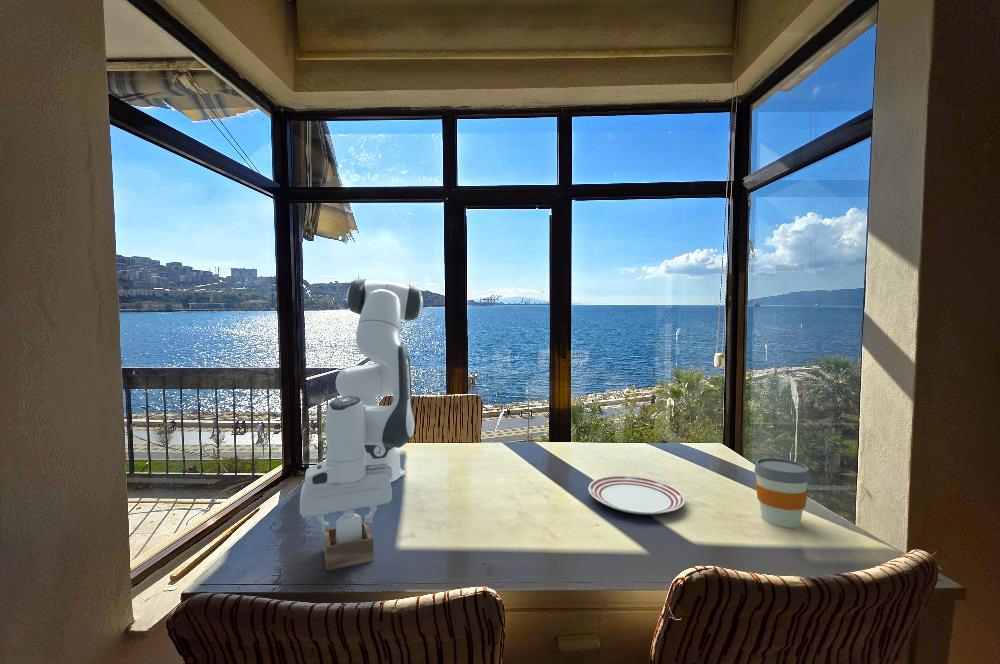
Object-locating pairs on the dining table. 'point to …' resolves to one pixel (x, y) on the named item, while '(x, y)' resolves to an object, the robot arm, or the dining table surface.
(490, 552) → the dining table surface
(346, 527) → the eye dropper bottle
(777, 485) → the reusable coffee cup
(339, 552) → the small open wooden box
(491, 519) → the dining table surface
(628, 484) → the dinner plate
